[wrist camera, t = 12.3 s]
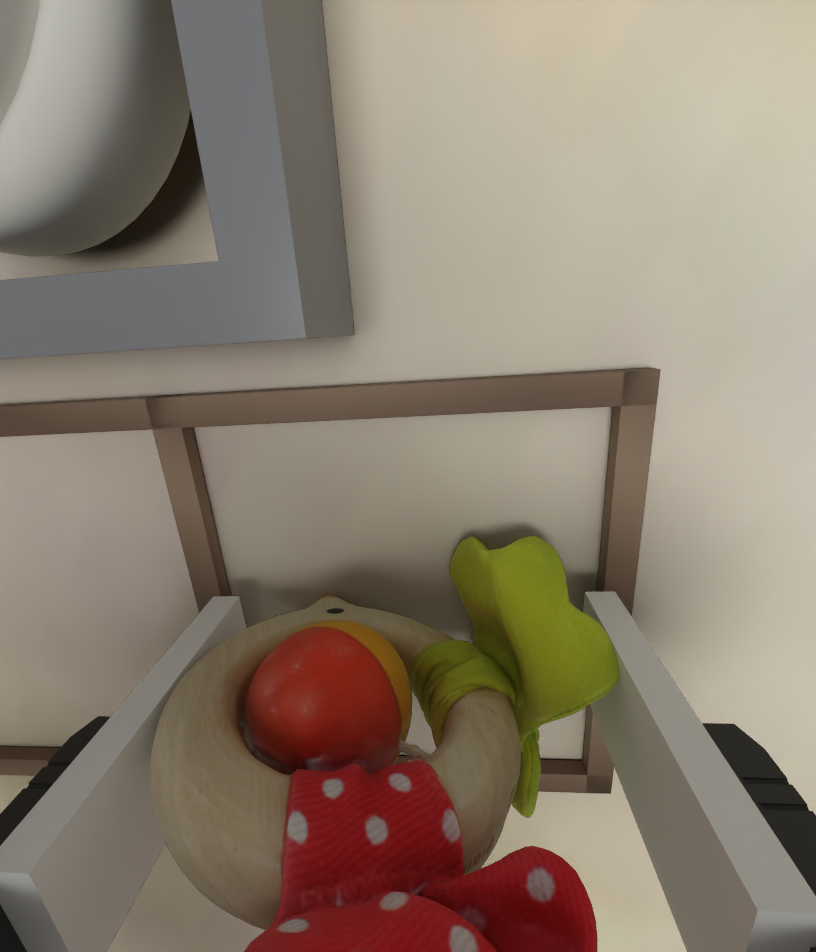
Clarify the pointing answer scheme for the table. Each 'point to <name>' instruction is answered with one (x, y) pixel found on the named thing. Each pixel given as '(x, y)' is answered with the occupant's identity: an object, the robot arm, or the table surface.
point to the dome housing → (225, 205)
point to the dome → (85, 118)
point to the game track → (182, 412)
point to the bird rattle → (384, 768)
